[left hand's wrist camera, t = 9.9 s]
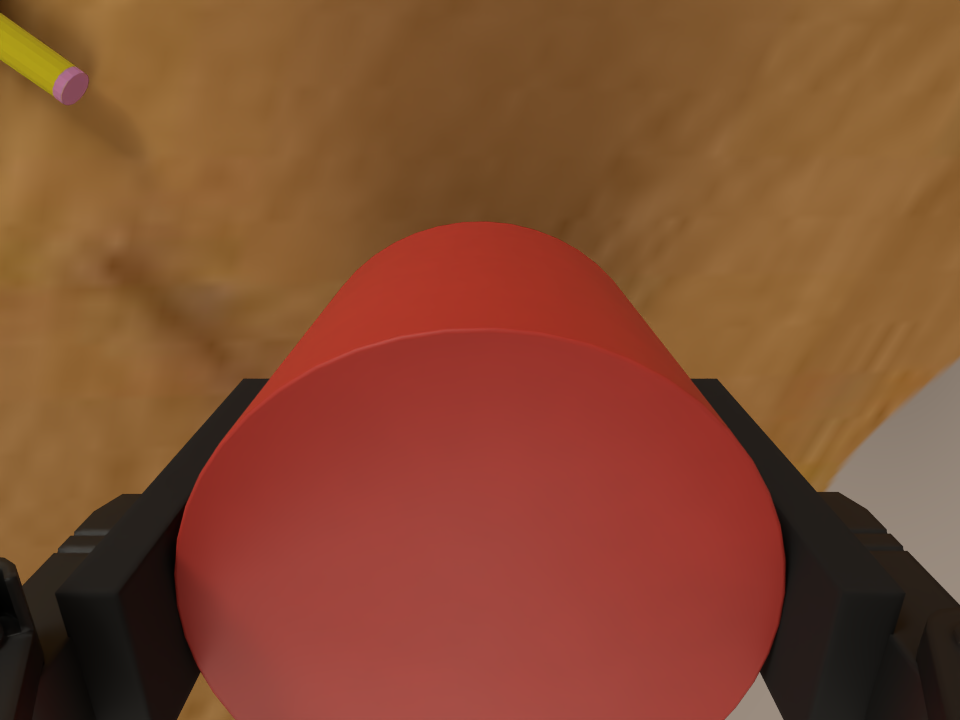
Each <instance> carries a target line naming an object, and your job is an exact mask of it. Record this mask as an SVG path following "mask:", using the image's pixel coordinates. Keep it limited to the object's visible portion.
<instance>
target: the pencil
mask: <svg viewBox="0 0 960 720" xmlns="http://www.w3.org/2000/svg"><path fill="white" fill-rule="evenodd" d="M0 60H1V61H3V62H4V63H6V64H7V65H9V66H10V67H12V68H13V69H15V70H16V71H17V72H19V73H20V74H22V75H23V76H25V77H26V78H28V79H29V80H30V81H32V82H33V83H35V84H36V85H38V86H39V87H41V88H42V89H43V90H45V91H46V92H48V93H49V94H51V95H52V96H54V97H55V98H56V99H57V100H59V101H60V102H62V103H63V104H65V105H71V104H74V103H75V102H77V101H78V100H79V99H80V98H81V97H82V96H83V94H84V93H85V91H86V89H87V87H88V82H89V79H88V75H87V74H85V73H84V72H83V71H81V70H80V69H78V67H76V66H75V65H73V64H72V63H71V62H69V61H68V60H66V59H65V58H64V57H62V56H61V55H59V54H58V53H56V52H55V51H54V50H52V49H51V48H49V47H48V46H47V45H45V44H44V43H42V42H41V41H40V40H38V39H37V38H35V37H34V36H32V35H31V34H30V33H28V32H27V31H25V30H24V29H23V28H21V27H20V26H18V25H17V24H15V23H14V22H13V21H11V20H10V19H8V18H7V17H6V16H4V15H3V14H1V13H0Z"/></svg>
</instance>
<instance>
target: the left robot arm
mask: <svg viewBox="0 0 960 720" xmlns="http://www.w3.org/2000/svg"><path fill="white" fill-rule="evenodd" d="M268 381H269V379H243V380H242V381H241V382H240V383H239V385H238V386H237V387H236V388H235V389H234V390H233V391H232V392H231V394H230V395H229V396H228V397H227V398H226V399H225V400H224V402H223V403H222V404H221V405H220V406H219V407H218V408H217V409H216V411H215V412H214V413H213V414H212V415H211V416H210V417H209V419H208V420H207V421H206V422H205V423H204V424H203V425H202V426H201V428H200V429H199V430H198V431H197V432H196V433H195V434H194V436H193V437H192V438H191V439H190V440H189V441H188V442H187V443H186V445H185V446H184V447H183V448H182V449H181V450H180V451H179V453H178V454H177V455H176V456H175V457H174V458H173V459H172V460H171V462H170V463H169V464H168V465H167V466H166V467H165V468H164V470H163V471H162V472H161V473H160V474H159V475H158V476H157V478H156V479H155V480H154V481H153V482H152V483H151V484H150V485H149V487H148V488H147V489H146V490H145V491H144V492H143V493H142V494H122V495H120V496H119V497H117V498H115V499H114V500H112V501H110V502H109V503H107V504H105V505H104V506H102V507H101V508H99V509H97V510H96V511H94V512H93V513H92V514H91V515H90V516H89V517H88V518H87V519H86V520H85V521H84V522H83V523H82V524H81V525H80V526H79V528H78V529H77V530H76V531H75V532H74V536H70V537H69V538H68V539H67V540H66V541H65V542H64V543H63V544H62V545H61V546H60V547H59V548H58V553H53V555H52V556H51V557H50V558H49V559H48V560H47V561H46V562H45V563H44V564H43V565H42V566H41V567H40V568H39V569H38V570H37V571H36V572H35V573H34V574H33V575H32V576H31V577H30V578H29V579H28V580H27V582H26V583H25V584H24V585H23V586H22V584H21V581H20V578H19V575H18V572H17V569H16V566H15V564H13V563H12V562H10V561H9V560H7V559H6V558H1V557H0V720H177V718H178V716H179V714H180V712H181V710H182V708H183V706H184V704H185V702H186V700H187V698H188V696H189V694H190V692H191V690H192V688H193V686H194V684H195V682H196V680H197V678H198V676H199V674H200V672H201V671H200V670H199V668H198V666H197V664H196V662H195V660H194V657H193V655H192V652H191V650H190V648H189V645H188V643H187V641H186V638H185V635H184V631H183V627H182V623H181V619H180V615H179V611H178V607H177V599H176V587H175V576H174V571H175V558H176V546H177V537H178V533H179V529H180V525H181V521H182V517H183V514H184V510H185V506H186V503H187V501H188V499H189V497H190V494H191V492H192V490H193V488H194V485H195V483H196V481H197V479H198V476H199V474H200V472H201V471H202V469H203V468H204V466H205V465H206V463H207V462H208V460H209V459H210V457H211V455H212V454H213V452H214V451H215V449H216V448H217V446H218V445H219V443H220V442H221V441H222V439H223V438H224V437H225V435H226V434H227V433H228V432H229V430H230V429H231V428H232V426H233V425H234V424H235V423H236V421H237V420H238V419H239V418H240V416H241V415H242V414H243V412H244V411H245V410H246V409H247V407H248V406H249V405H250V404H251V402H252V401H253V400H254V398H255V397H256V396H257V395H258V393H259V392H260V391H261V390H262V388H263V387H264V386H265V384H266V383H267V382H268ZM691 381H692V382H693V383H694V384H695V386H696V387H697V388H698V389H699V391H700V392H701V393H702V395H703V396H704V397H705V398H706V400H707V401H708V402H709V404H710V405H711V406H712V407H713V409H714V410H715V411H716V412H717V414H718V415H719V416H720V418H721V419H722V420H723V421H724V423H725V424H726V425H727V427H728V428H729V429H730V430H731V432H732V433H733V434H734V436H735V437H736V438H737V440H738V441H739V442H740V444H741V445H742V446H743V448H744V449H745V450H746V452H747V453H748V454H749V456H750V457H751V458H752V460H753V461H754V463H755V465H756V467H757V469H758V471H759V473H760V475H761V476H762V478H763V480H764V482H765V484H766V486H767V488H768V490H769V492H770V494H771V497H772V500H773V503H774V506H775V510H776V513H777V516H778V519H779V522H780V525H781V531H782V537H783V544H784V551H785V557H786V572H785V596H784V602H783V607H782V613H781V618H780V624H779V627H778V630H777V632H776V635H775V638H774V641H773V644H772V647H771V650H770V652H769V655H768V657H767V659H766V660H765V662H764V664H763V666H762V668H761V670H760V673H761V675H762V677H763V679H764V681H765V683H766V685H767V687H768V689H769V691H770V693H771V695H772V697H773V699H774V701H775V703H776V705H777V707H778V709H779V711H780V713H781V715H782V717H783V719H784V720H960V605H959V604H958V603H957V602H956V601H955V600H954V599H953V597H952V596H951V595H949V593H948V592H947V591H946V590H945V589H944V588H943V587H942V586H941V585H940V584H939V583H938V582H937V581H936V580H935V579H934V578H933V577H932V576H931V575H930V574H929V573H928V572H927V571H926V570H925V569H924V568H923V567H922V566H921V565H920V563H919V562H918V561H917V560H916V559H915V558H914V557H913V556H912V555H911V554H910V553H909V552H908V551H904V550H903V546H902V545H901V544H900V543H899V542H898V541H897V540H896V539H895V538H894V537H893V536H892V535H891V534H887V530H886V528H885V527H884V526H883V525H882V524H881V523H880V522H879V521H878V520H877V519H876V518H875V517H874V516H873V515H872V514H871V513H870V512H869V511H868V510H867V509H866V508H864V507H862V506H861V505H859V504H857V503H856V502H854V501H852V500H851V499H849V498H847V497H846V496H844V495H842V494H841V493H839V492H816V491H815V489H814V488H813V487H812V486H811V485H810V484H809V483H808V482H807V480H806V479H805V478H804V477H803V476H802V475H801V474H800V472H799V471H798V470H797V469H796V468H795V467H794V466H793V465H792V463H791V462H790V461H789V460H788V459H787V458H786V457H785V455H784V454H783V453H782V452H781V451H780V450H779V449H778V448H777V446H776V445H775V444H774V443H773V442H772V441H771V440H770V438H769V437H768V436H767V435H766V434H765V433H764V432H763V431H762V429H761V428H760V427H759V426H758V425H757V424H756V423H755V421H754V420H753V419H752V418H751V417H750V416H749V415H748V413H747V412H746V411H745V410H744V409H743V408H742V407H741V406H740V404H739V403H738V402H737V401H736V400H735V399H734V398H733V396H732V395H731V394H730V393H729V392H728V391H727V390H726V389H725V387H724V386H723V385H722V384H721V383H720V382H719V381H718V379H691Z"/></svg>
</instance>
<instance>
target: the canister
mask: <svg viewBox="0 0 960 720" xmlns="http://www.w3.org/2000/svg"><path fill="white" fill-rule="evenodd" d="M785 572H786V557H785V551H784V544H783V537H782V531H781V525H780V522H779V519H778V516H777V513H776V510H775V506H774V503H773V500H772V497H771V494H770V492H769V490H768V488H767V486H766V484H765V482H764V480H763V478H762V476H761V475H760V473H759V471H758V469H757V467H756V465H755V463H754V461H753V460H752V458H751V457H750V456H749V454H748V453H747V452H746V450H745V449H744V448H743V446H742V445H741V444H740V442H739V441H738V440H737V438H736V437H735V436H734V434H733V433H732V432H731V430H730V429H729V428H728V427H727V425H726V424H725V423H724V421H723V420H722V419H721V418H720V416H719V415H718V414H717V412H716V411H715V410H714V409H713V407H712V406H711V405H710V404H709V402H708V401H707V400H706V398H705V397H704V396H703V395H702V393H701V392H700V391H699V389H698V388H697V387H696V386H695V384H694V383H693V382H692V381H691V379H690V378H689V377H688V375H687V374H686V373H685V372H684V370H683V369H682V368H681V367H680V365H679V364H678V363H677V361H676V360H675V359H674V358H673V356H672V355H671V354H670V352H669V351H668V350H667V349H666V347H665V346H664V345H663V344H662V342H661V341H660V340H659V338H658V337H657V336H656V335H655V333H654V332H653V331H652V330H651V328H650V327H649V326H648V324H647V323H646V322H645V321H644V319H643V318H642V317H641V315H640V314H639V313H638V312H637V310H636V309H635V308H634V307H633V305H632V304H631V303H630V301H629V300H628V299H627V298H626V296H625V295H624V294H623V292H622V291H621V290H620V289H619V287H618V286H617V285H616V284H615V282H614V281H613V280H612V279H611V278H610V277H609V276H608V275H607V274H606V273H605V272H604V271H603V270H602V269H601V268H600V267H599V266H598V265H597V264H596V263H595V262H593V261H592V260H591V259H589V258H588V257H587V256H585V255H584V254H583V253H581V252H580V251H579V250H577V249H575V248H574V247H572V246H570V245H568V244H566V243H565V242H563V241H561V240H559V239H557V238H555V237H552V236H550V235H547V234H545V233H542V232H539V231H537V230H534V229H530V228H526V227H521V226H517V225H513V224H506V223H496V222H461V223H455V224H449V225H443V226H438V227H434V228H431V229H428V230H424V231H421V232H418V233H415V234H413V235H410V236H408V237H406V238H404V239H402V240H399V241H397V242H395V243H393V244H392V245H390V246H388V247H387V248H385V249H384V250H382V251H381V252H379V253H377V254H376V255H374V256H373V257H372V258H371V259H370V260H368V261H367V262H366V263H365V264H364V265H362V266H361V267H360V268H359V269H358V270H357V271H356V272H355V273H354V274H353V275H352V276H351V277H350V278H349V280H348V281H347V282H346V283H345V284H344V285H343V286H342V287H341V289H340V290H339V291H338V293H337V294H336V295H335V296H334V298H333V299H332V300H331V302H330V303H329V304H328V305H327V307H326V308H325V309H324V310H323V312H322V313H321V314H320V316H319V317H318V318H317V319H316V321H315V322H314V323H313V324H312V326H311V327H310V328H309V330H308V331H307V332H306V333H305V335H304V336H303V337H302V338H301V340H300V341H299V342H298V344H297V345H296V346H295V347H294V349H293V350H292V351H291V353H290V354H289V355H288V356H287V358H286V359H285V360H284V361H283V363H282V364H281V365H280V367H279V368H278V369H277V370H276V372H275V373H274V374H273V375H272V377H271V378H270V379H269V381H268V382H267V383H266V384H265V386H264V387H263V388H262V390H261V391H260V392H259V393H258V395H257V396H256V397H255V398H254V400H253V401H252V402H251V404H250V405H249V406H248V407H247V409H246V410H245V411H244V412H243V414H242V415H241V416H240V418H239V419H238V420H237V421H236V423H235V424H234V425H233V426H232V428H231V429H230V430H229V432H228V433H227V434H226V435H225V437H224V438H223V439H222V441H221V442H220V443H219V445H218V446H217V448H216V449H215V451H214V452H213V454H212V455H211V457H210V459H209V460H208V462H207V463H206V465H205V466H204V468H203V469H202V471H201V472H200V474H199V476H198V479H197V481H196V483H195V485H194V488H193V490H192V492H191V494H190V497H189V499H188V501H187V503H186V506H185V510H184V514H183V517H182V521H181V525H180V529H179V533H178V537H177V546H176V558H175V571H174V576H175V587H176V599H177V607H178V611H179V615H180V619H181V623H182V627H183V631H184V635H185V638H186V641H187V643H188V645H189V648H190V650H191V652H192V655H193V657H194V660H195V662H196V664H197V666H198V668H199V670H200V671H201V673H202V675H203V676H204V678H205V680H206V681H207V683H208V685H209V686H210V688H211V690H212V691H213V693H214V694H215V695H216V697H217V698H218V699H219V700H220V702H221V703H222V704H223V705H224V706H225V708H226V709H227V710H228V711H229V713H230V714H231V715H232V716H233V718H234V719H235V720H725V718H726V717H727V716H728V715H729V714H730V713H731V712H732V711H733V710H734V709H735V708H736V706H737V705H738V704H739V702H740V701H741V699H742V698H743V697H744V695H745V694H746V693H747V691H748V690H749V688H750V687H751V686H752V684H753V683H754V681H755V679H756V678H757V676H758V674H759V672H760V670H761V668H762V666H763V664H764V662H765V660H766V659H767V657H768V655H769V652H770V650H771V647H772V644H773V641H774V638H775V635H776V632H777V630H778V627H779V624H780V618H781V613H782V607H783V602H784V596H785Z"/></svg>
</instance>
